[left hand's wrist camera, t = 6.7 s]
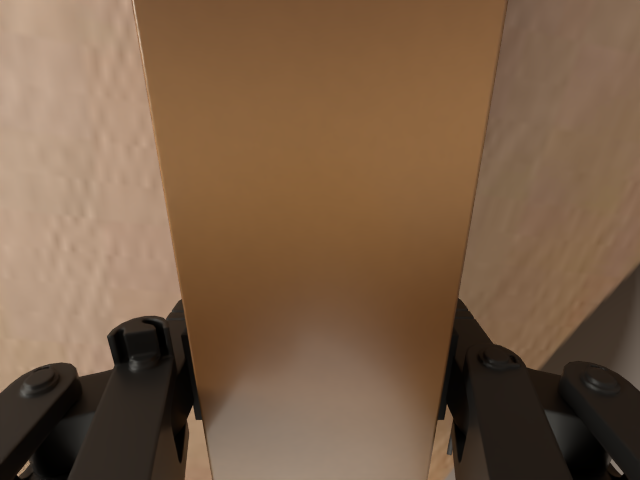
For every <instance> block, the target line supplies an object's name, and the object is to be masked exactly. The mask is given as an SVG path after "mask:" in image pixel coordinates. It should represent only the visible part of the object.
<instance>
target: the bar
mask: <svg viewBox="0 0 640 480" xmlns="http://www.w3.org/2000/svg"><path fill="white" fill-rule="evenodd" d="M507 4H508V0H132V6H133V12H134V18H135V24H136V30H137V36H138V42H139V48H140V54H141V60H142V66H143V71H144V77H145V83H146V89H147V95H148V101H149V107H150V113H151V119H152V125H153V131H154V137H155V143H156V149H157V154H158V160H159V166H160V172H161V178H162V184H163V190H164V196H165V202H166V208H167V214H168V220H169V226H170V232H171V237H172V243H173V249H174V255H175V261H176V267H177V273H178V279H179V285H180V291H181V297H182V303H183V309H184V315H185V320H186V326H187V332H188V338H189V344H190V350H191V356H192V362H193V368H194V374H195V380H196V386H197V392H198V398H199V403H200V409H201V415H202V421H203V427H204V433H205V439H206V445H207V451H208V457H209V463H210V469H211V475H212V480H427V479H428V473H429V467H430V461H431V455H432V449H433V444H434V438H435V432H436V426H437V420H438V414H439V408H440V402H441V396H442V390H443V384H444V378H445V372H446V366H447V360H448V354H449V349H450V343H451V337H452V331H453V325H454V319H455V313H456V307H457V301H458V295H459V289H460V283H461V277H462V271H463V265H464V259H465V254H466V248H467V242H468V236H469V230H470V224H471V218H472V212H473V206H474V200H475V194H476V188H477V182H478V176H479V170H480V164H481V159H482V153H483V147H484V141H485V135H486V129H487V123H488V117H489V111H490V105H491V99H492V93H493V87H494V81H495V75H496V69H497V64H498V58H499V52H500V46H501V40H502V34H503V28H504V22H505V16H506V10H507Z"/></svg>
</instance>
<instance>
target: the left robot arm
mask: <svg viewBox="0 0 640 480" xmlns="http://www.w3.org/2000/svg"><path fill="white" fill-rule="evenodd" d="M107 338H108V342H109V346H110V349H111V353H112V357H113V360H114V364H115V366H114V368H113V369H112V370H108V371H105V372H100V373H95V374H91V375H86V376H81V377H79V376H78V373H77V370H76V368H75V367H74V366H73V365H72V364H68V363H54V364H48V365H44V366H42V367H38V368H36V369H34V370H32V371H30V372H28V373H26V374H24V375H22V376H21V377H19V378H18V379H17V380H15V381H14V382H13V383H11V384H10V385H9V386H8V387H7V388H6V389H5V390H4V391H2V392H1V393H0V480H184V479H185V469H186V459H187V450H188V440H189V429H188V423H187V418H188V415H189V413H190V411H191V408H192V406H193V407H194V412H195V418H196V420H202V415H201V409H200V403H199V398H198V392H197V386H196V380H195V374H194V368H193V362H192V356H191V350H190V344H189V338H188V332H187V326H186V320H185V315H184V309H183V303H182V299H181V300H180V301H179V302H178V303H177V304H176V306H175V307H174V308H173V310H172V312H171V313H170V314H169V315H168V317H167V318H166V320H165V319H164V318H162V317H158V316H143V317H139V318H134V319H131V320H129V321H126V322H124V323H122V324H120V325H119V326H117V327H116V328H114V329H113V330H112V331H111V332H110V333H109V335H108V336H107ZM447 405H448V407H449V409H450V412H451V414H452V416H453V423H452V428H451V434H450V439H449V444H448V450H447V454H448V455H452V450H453V459H454V468H455V478H456V480H640V391H639V390H638V389H636V388H635V387H634V386H633V385H632V384H631V383H630V382H629V381H627V380H626V379H624V378H623V377H622V376H620V375H619V374H618V373H616V372H614V371H612V370H610V369H608V368H606V367H603V366H601V365H597V364H594V363H590V362H582V361H575V362H569V363H568V364H567V365H565V366H564V369H563V372H562V375H556V374H551V373H546V372H542V371H537V370H533V369H530V368H526V365H525V364H524V362H523V361H522V360H521V358H520V357H519V356H517V355H516V354H515V353H514V352H512V351H511V350H509V349H507V348H504V347H502V346H500V345H496V344H493V343H492V341H491V340H490V339H489V337H488V336H487V335H486V333H485V332H484V331H483V329H482V328H481V326H480V325H479V324H478V322H477V321H476V320H475V319H474V317H473V315H472V314H471V313H470V311H468V309H467V307H466V306H465V305H464V303H463V302H462V300H460V299H459V298H458V301H457V307H456V313H455V319H454V325H453V331H452V337H451V343H450V349H449V354H448V360H447V366H446V372H445V378H444V384H443V390H442V396H441V402H440V408H439V414H438V420H444V417H445V411H446V406H447ZM611 459H613V460H614V461H615V463H616V464H617V465H618V466H619V468H620V469H621V470H622V471H623V473H624V474H623V475H621V474H620V473H619V472H618V471H617V470H616V469H615V468H614V467H613V466H612V464H611V463H610V461H611ZM28 460H29V462H30V465H29V466H28V467H27V469H26V470H25V471H24V472H23V473H22V474H21V475H20V476H19V477H18V476H17V474H18V472H19V471H20V470H21V469H22V467H23V466H24V465H25V464H26V462H27V461H28Z"/></svg>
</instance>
